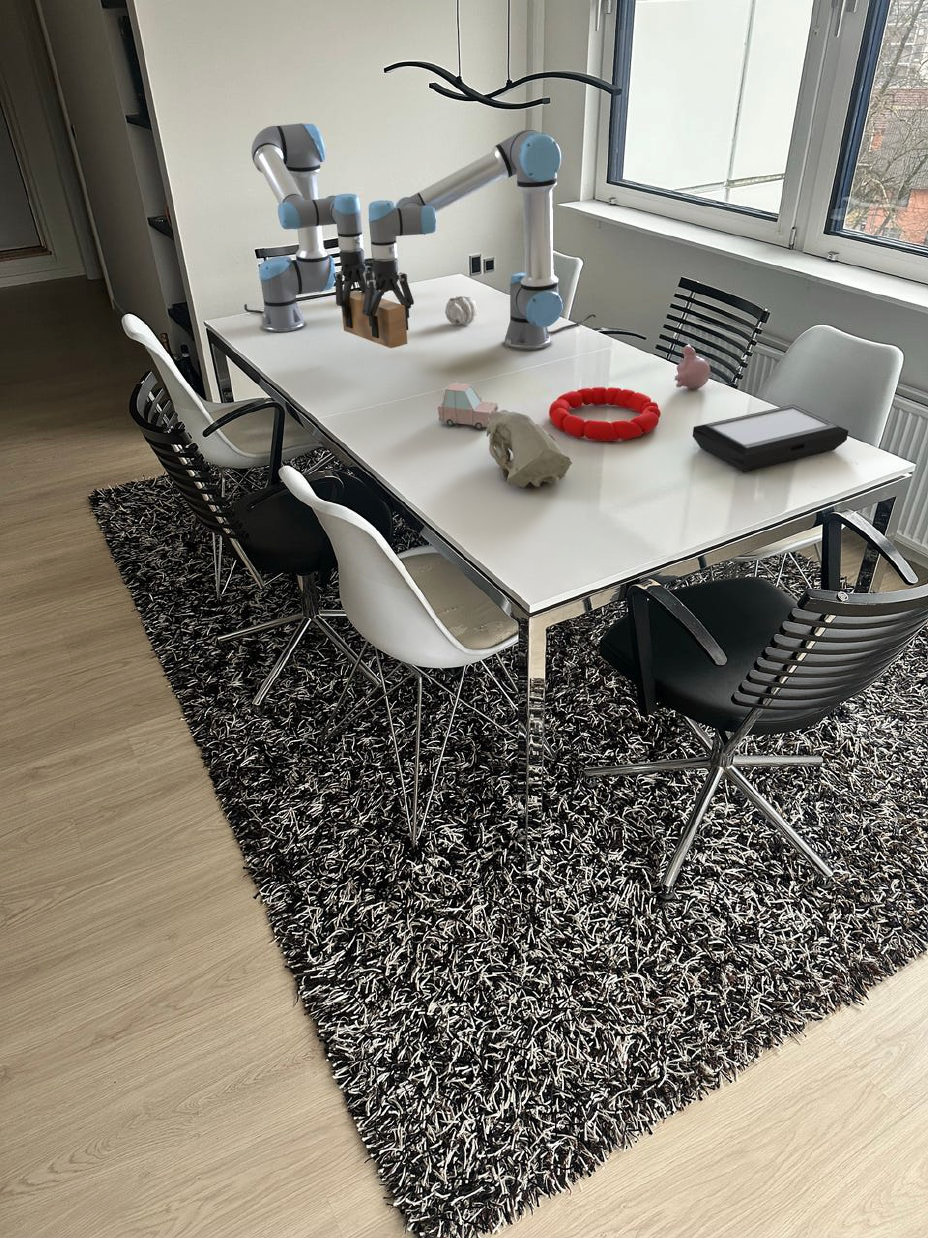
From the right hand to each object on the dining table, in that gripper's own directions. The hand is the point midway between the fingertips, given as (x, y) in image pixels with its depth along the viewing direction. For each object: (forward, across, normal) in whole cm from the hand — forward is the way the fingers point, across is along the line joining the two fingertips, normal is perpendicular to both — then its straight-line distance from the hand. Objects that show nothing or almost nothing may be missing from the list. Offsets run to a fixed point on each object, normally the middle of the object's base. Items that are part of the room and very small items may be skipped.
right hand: (390, 333), depth 276 cm
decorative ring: (+12, +16, -75) cm, 78 cm away
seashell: (+12, +48, +22) cm, 54 cm away
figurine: (+12, +53, -75) cm, 93 cm away
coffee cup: (+12, +44, +72) cm, 85 cm away
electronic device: (+12, +33, -116) cm, 121 cm away
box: (+3, 0, +9) cm, 9 cm away
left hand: (+1, 0, +18) cm, 18 cm away
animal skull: (+12, -21, -82) cm, 85 cm away
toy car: (+12, -11, -50) cm, 52 cm away
